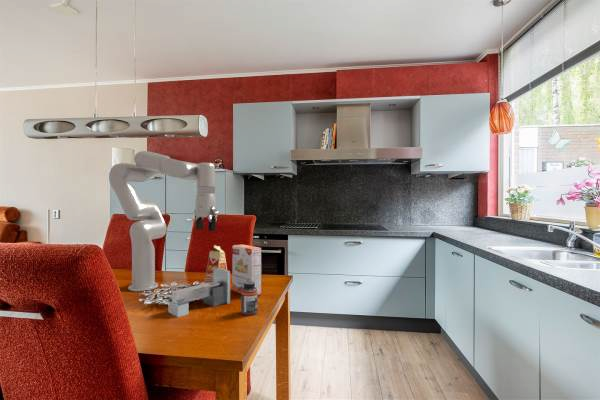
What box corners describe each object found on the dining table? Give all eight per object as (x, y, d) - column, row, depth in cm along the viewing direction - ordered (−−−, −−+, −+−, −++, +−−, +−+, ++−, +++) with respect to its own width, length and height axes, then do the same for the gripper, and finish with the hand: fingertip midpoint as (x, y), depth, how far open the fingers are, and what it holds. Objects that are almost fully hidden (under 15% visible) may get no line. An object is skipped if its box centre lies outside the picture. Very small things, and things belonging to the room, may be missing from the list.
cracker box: (231, 291, 142) (231, 245, 142) (242, 288, 147) (242, 243, 147) (250, 298, 133) (251, 248, 133) (261, 294, 137) (261, 247, 137)
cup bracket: (201, 301, 127) (201, 269, 127) (215, 298, 132) (215, 267, 132) (215, 307, 121) (215, 273, 121) (229, 303, 126) (230, 270, 126)
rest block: (168, 312, 115) (168, 298, 115) (178, 309, 118) (178, 296, 118) (178, 317, 111) (178, 303, 111) (188, 314, 114) (188, 300, 114)
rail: (171, 301, 115) (171, 291, 115) (214, 291, 128) (214, 281, 128) (176, 304, 112) (177, 293, 112) (219, 293, 126) (219, 283, 126)
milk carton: (221, 288, 146) (221, 246, 146) (202, 287, 148) (203, 245, 148) (229, 283, 155) (229, 243, 155) (212, 282, 157) (212, 242, 157)
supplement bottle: (241, 310, 118) (242, 280, 118) (257, 309, 118) (258, 280, 118) (240, 316, 112) (240, 284, 112) (257, 315, 112) (257, 284, 112)
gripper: (187, 191, 140) (187, 229, 140) (209, 190, 129) (209, 232, 129) (202, 191, 146) (202, 228, 146) (224, 191, 134) (224, 231, 134)
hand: (205, 230), depth 137 cm, fingers open, 9 cm apart
